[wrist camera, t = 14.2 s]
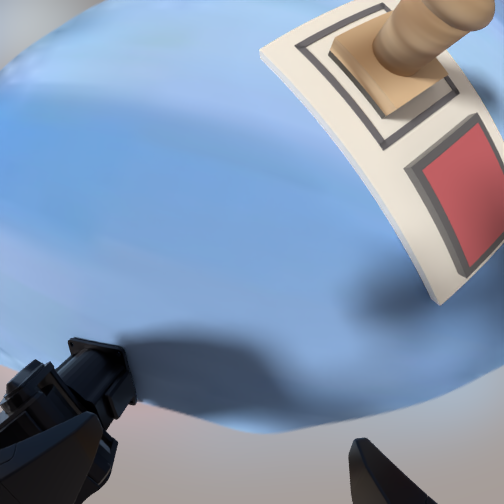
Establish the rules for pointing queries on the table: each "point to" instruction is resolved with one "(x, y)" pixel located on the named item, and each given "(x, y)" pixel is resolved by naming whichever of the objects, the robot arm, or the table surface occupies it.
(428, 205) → the ink pad
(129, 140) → the table surface
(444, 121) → the stamping board
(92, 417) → the robot arm
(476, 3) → the stamp
